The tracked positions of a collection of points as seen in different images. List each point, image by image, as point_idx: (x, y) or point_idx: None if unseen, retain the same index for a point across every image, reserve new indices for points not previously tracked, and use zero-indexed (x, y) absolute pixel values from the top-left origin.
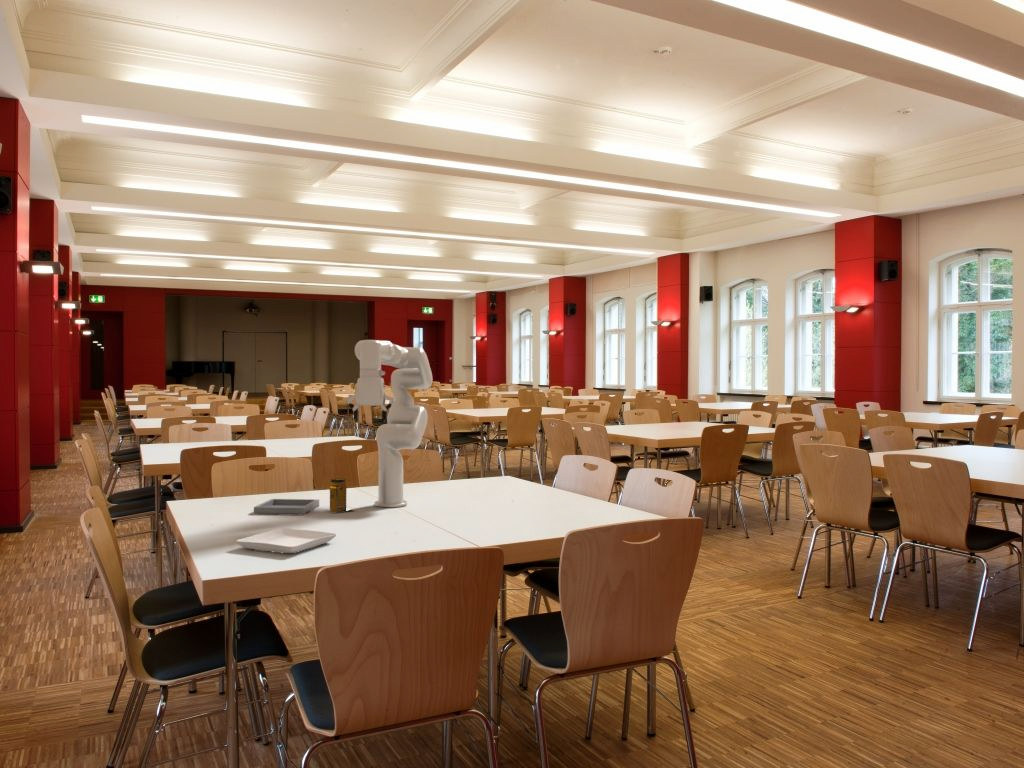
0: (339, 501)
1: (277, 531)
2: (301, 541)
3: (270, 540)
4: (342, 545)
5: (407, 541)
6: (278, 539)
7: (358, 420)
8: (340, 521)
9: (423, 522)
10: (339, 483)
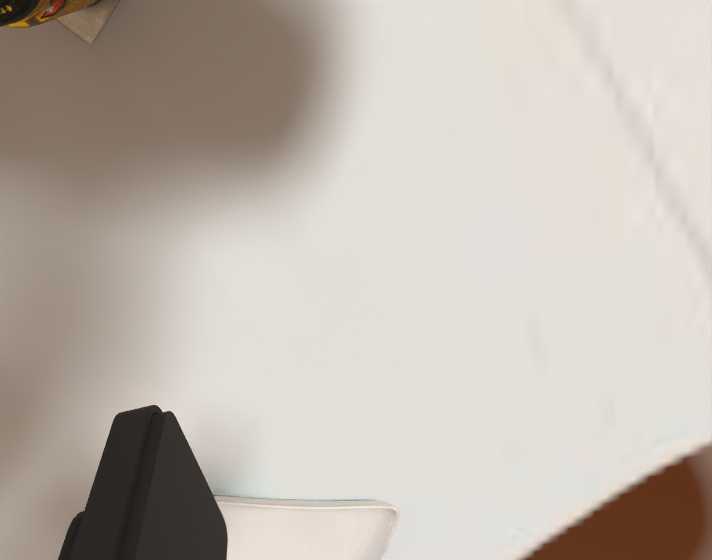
0: (81, 6)
1: None
2: (301, 525)
3: None
4: (422, 505)
5: (590, 425)
6: None
7: (178, 442)
8: (246, 226)
9: (616, 146)
10: (34, 11)
